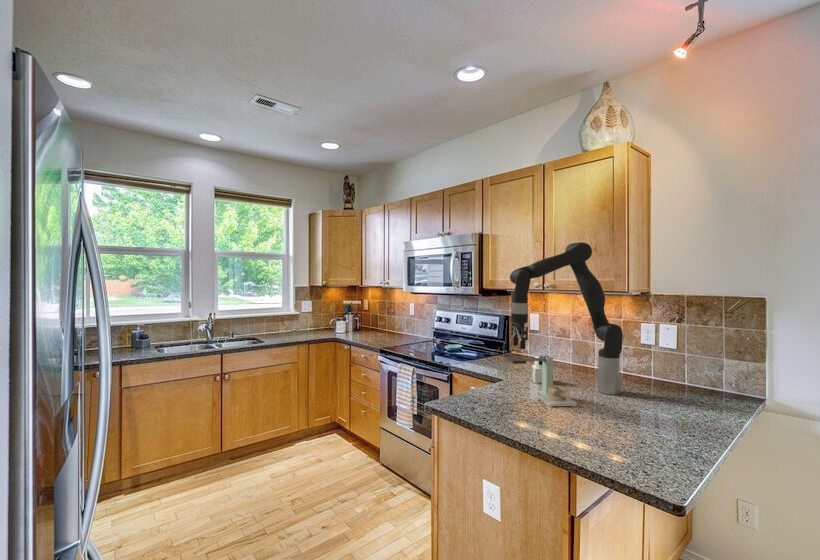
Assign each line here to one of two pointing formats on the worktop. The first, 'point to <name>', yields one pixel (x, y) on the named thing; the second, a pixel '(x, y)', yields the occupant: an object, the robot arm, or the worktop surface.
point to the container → (537, 371)
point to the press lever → (524, 359)
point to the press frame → (551, 385)
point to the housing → (557, 393)
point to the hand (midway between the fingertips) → (519, 347)
